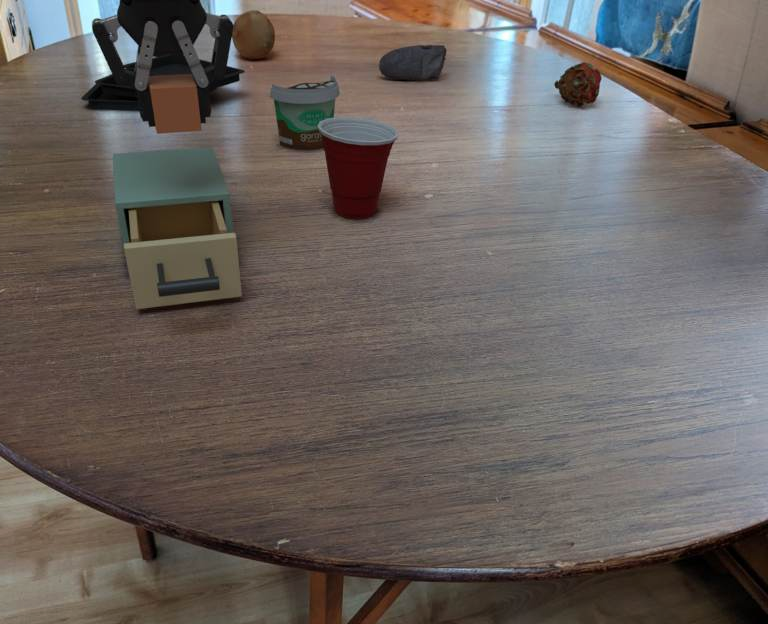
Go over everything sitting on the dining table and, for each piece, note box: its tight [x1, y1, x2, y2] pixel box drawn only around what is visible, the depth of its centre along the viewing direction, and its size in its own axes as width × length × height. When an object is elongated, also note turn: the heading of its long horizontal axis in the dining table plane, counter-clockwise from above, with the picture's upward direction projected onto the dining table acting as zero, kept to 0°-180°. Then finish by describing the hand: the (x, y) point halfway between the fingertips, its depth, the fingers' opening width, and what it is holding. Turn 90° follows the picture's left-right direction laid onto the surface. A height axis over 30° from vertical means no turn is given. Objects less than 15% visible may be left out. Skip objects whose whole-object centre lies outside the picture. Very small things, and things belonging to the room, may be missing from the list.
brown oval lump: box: [231, 9, 276, 61], centre depth 164 cm, size 10×10×10 cm
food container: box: [269, 74, 341, 151], centre depth 120 cm, size 12×6×10 cm, turn 126°
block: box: [148, 74, 203, 135], centre depth 76 cm, size 5×5×5 cm
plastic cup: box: [318, 116, 400, 220], centre depth 99 cm, size 11×11×12 cm
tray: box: [81, 54, 246, 112], centre depth 139 cm, size 30×23×5 cm
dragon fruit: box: [553, 61, 603, 108], centre depth 146 cm, size 8×8×12 cm
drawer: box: [123, 201, 243, 310], centre depth 81 cm, size 20×11×7 cm, turn 17°
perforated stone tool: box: [378, 44, 447, 82], centre depth 155 cm, size 15×5×7 cm, turn 99°
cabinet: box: [112, 146, 234, 274], centre depth 91 cm, size 16×13×9 cm
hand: (176, 122), depth 78 cm, fingers closed on block, 4 cm apart
